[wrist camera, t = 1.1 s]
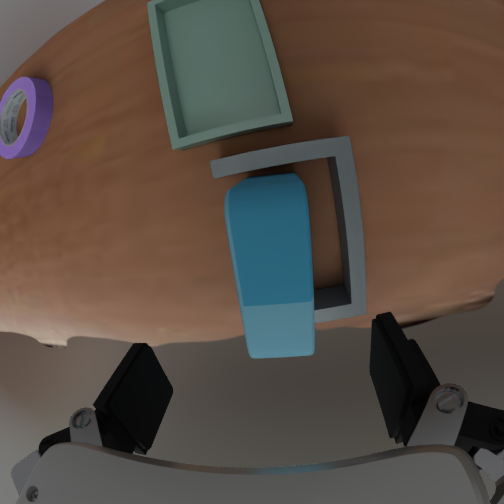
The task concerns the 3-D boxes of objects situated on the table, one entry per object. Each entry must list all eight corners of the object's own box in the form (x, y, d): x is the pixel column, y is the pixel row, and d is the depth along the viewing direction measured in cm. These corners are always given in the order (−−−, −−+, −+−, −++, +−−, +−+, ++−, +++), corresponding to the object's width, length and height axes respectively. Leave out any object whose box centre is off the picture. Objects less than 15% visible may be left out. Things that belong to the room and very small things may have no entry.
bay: (339, 138, 23) (349, 135, 19) (357, 294, 28) (366, 313, 24) (220, 160, 25) (209, 161, 21) (255, 310, 30) (252, 331, 26)
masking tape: (41, 64, 22) (24, 61, 18) (64, 112, 24) (44, 111, 21) (5, 121, 25) (-12, 123, 21) (25, 172, 27) (6, 176, 24)
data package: (304, 286, 28) (315, 364, 17) (262, 289, 29) (250, 368, 18) (294, 171, 25) (306, 183, 13) (247, 176, 25) (219, 193, 14)
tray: (251, -15, 17) (248, -29, 15) (291, 124, 23) (293, 120, 20) (158, 13, 19) (147, 2, 16) (184, 149, 25) (172, 149, 22)
